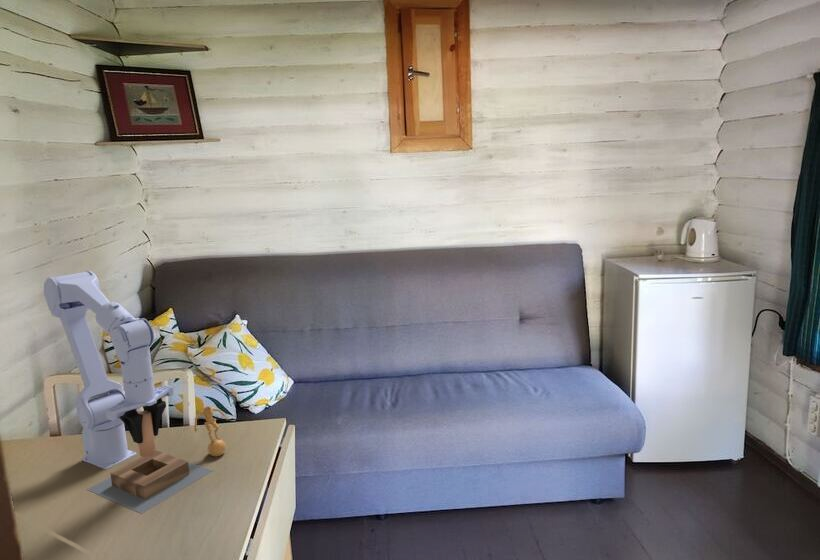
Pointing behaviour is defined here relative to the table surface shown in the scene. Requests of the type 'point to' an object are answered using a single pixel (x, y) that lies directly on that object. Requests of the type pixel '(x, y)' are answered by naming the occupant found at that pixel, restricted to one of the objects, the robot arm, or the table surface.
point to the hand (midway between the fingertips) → (145, 438)
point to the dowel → (147, 435)
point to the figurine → (216, 445)
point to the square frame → (146, 486)
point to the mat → (143, 505)
